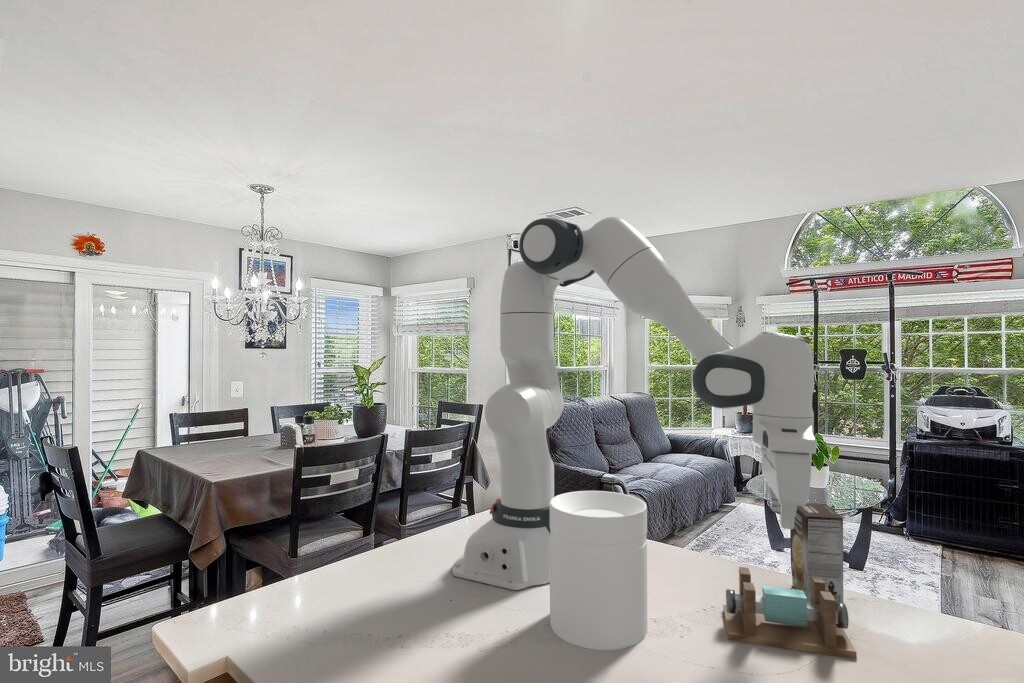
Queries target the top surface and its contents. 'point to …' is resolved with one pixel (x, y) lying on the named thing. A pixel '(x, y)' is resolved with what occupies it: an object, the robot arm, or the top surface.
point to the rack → (809, 638)
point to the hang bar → (785, 607)
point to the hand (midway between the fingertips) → (781, 518)
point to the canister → (598, 569)
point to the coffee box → (817, 549)
